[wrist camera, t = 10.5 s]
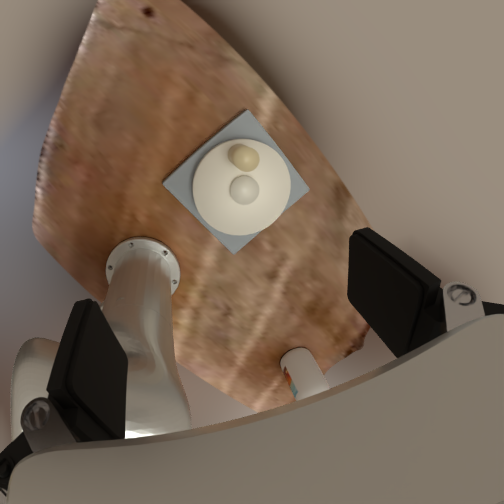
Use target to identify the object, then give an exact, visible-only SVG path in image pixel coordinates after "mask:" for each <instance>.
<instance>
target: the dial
mask: <svg viewBox="0 0 504 504" xmlns="http://www.w3.org/2000/svg"><path fill="white" fill-rule="evenodd" d="M290 189H291V180H290V174H289V171H288V168H287V166H286V163H285V162H284V160H283V159H282V157H281V156H280V155H279V154H278V153H277V152H276V151H275V150H274V149H272V148H271V147H269V146H268V145H266V144H264V143H261V142H258V141H255V140H251V139H232V140H228V141H225V142H223V143H220V144H218V145H217V146H215V147H214V148H212V149H211V150H210V151H209V152H207V153H206V154H205V156H204V157H203V158H202V159H201V161H200V162H199V164H198V166H197V168H196V170H195V173H194V177H193V183H192V190H193V197H194V201H195V205H196V207H197V210H198V212H199V213H200V215H201V217H202V218H203V219H204V220H205V221H206V222H207V223H208V224H209V225H210V226H211V227H213V228H214V229H216V230H218V231H220V232H223V233H225V234H230V235H249V234H253V233H256V232H259V231H261V230H263V229H265V228H266V227H268V226H269V225H271V224H272V223H273V222H274V221H275V220H276V219H277V218H278V217H279V216H280V215H281V213H282V212H283V210H284V208H285V206H286V205H287V202H288V199H289V195H290Z"/></svg>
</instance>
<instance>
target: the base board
mask: <svg viewBox="0 0 504 504" xmlns="http://www.w3.org/2000/svg"><path fill="white" fill-rule="evenodd" d="M232 139H251V140H255V141H258V142H261V143H264V144H266V145H268V146H269V147H271V148H272V149H274V150H275V151H276V152H277V153H278V154H279V155H280V156H281V157H282V159H283V160H284V162H285V163H286V166H287V168H288V171H289V174H290V180H291V189H290V195H289V199H288V202H287V205H286V206H285V208H284V210H283V212H284V211H285V210H287V209H288V208H289V207H290V206H291V205H292V204H294V203H295V202H296V201H297V200H298V199H299V198H301V197H302V196H303V195H304V194H305V193H307V192H308V191H309V190H310V189H309V188H308V186H307V185H306V184H305V182H304V181H303V179H302V178H301V177H300V175H299V174H298V173H297V171H296V170H295V169H294V167H293V166H292V164H291V163H290V162H289V160H288V159H287V158H286V156H285V155H284V154H283V153H282V151H281V150H280V149H279V147H278V146H277V145H276V143H275V142H274V141H273V140H272V138H271V137H270V136H269V134H268V133H267V132H266V131H265V129H264V128H263V127H262V126H261V124H260V123H259V122H258V121H257V119H256V118H255V117H254V116H253V115H252V113H251V112H250V111H249V110H248V109H247V110H245V111H243V112H242V113H241V114H240V115H238V116H237V117H236V118H235V119H233V120H232V121H231V122H230V123H228V124H227V125H226V126H225V127H223V128H222V129H221V130H220V131H219V132H217V133H216V134H215V135H214V136H213V137H212V138H210V139H209V140H208V141H207V142H206V143H205V144H203V145H202V146H201V147H200V148H199V149H198V150H197V151H195V152H194V153H193V154H192V155H191V156H190V157H189V158H188V159H187V160H185V161H184V162H183V163H182V164H181V165H180V166H179V167H178V168H177V169H176V170H175V171H174V172H172V173H171V174H170V175H169V176H168V177H167V178H166V179H165V180H164V181H163V183H162V184H163V185H164V186H165V187H166V188H167V189H168V190H169V191H170V192H171V193H172V194H173V195H174V196H175V197H176V198H177V199H178V200H179V201H180V202H181V203H182V204H183V205H184V206H185V207H186V208H187V209H188V210H189V211H190V212H191V213H192V214H193V215H194V216H195V217H196V218H197V219H198V220H199V221H200V222H201V223H202V224H203V225H204V226H205V227H206V228H207V229H208V230H209V231H210V232H211V233H212V234H213V235H214V236H215V237H216V238H217V239H218V240H219V241H220V242H221V243H222V244H223V245H224V246H225V247H226V248H227V249H228V250H229V251H230V252H231V253H232V254H233V255H234V254H235V253H236V252H238V251H239V250H240V249H241V248H242V247H243V246H245V245H246V244H247V243H248V242H249V241H250V240H252V239H253V238H254V237H255V236H256V235H257V234H259V233H260V232H261V231H262V230H261V231H259V232H256V233H253V234H249V235H230V234H225V233H223V232H220V231H218V230H216V229H214V228H213V227H211V226H210V225H209V224H208V223H207V222H206V221H205V220H204V219H203V218H202V217H201V215H200V213H199V212H198V210H197V207H196V205H195V201H194V197H193V190H192V183H193V177H194V173H195V170H196V168H197V166H198V164H199V162H200V161H201V159H202V158H203V157H204V156H205V154H206V153H207V152H209V151H210V150H211V149H212V148H214V147H215V146H217V145H218V144H220V143H223V142H225V141H228V140H232ZM283 212H282V213H283ZM282 213H281V214H282Z"/></svg>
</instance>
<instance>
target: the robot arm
mask: <svg viewBox="0 0 504 504" xmlns="http://www.w3.org/2000/svg"><path fill="white" fill-rule="evenodd" d="M131 243H133V244H131ZM164 250H166V252H164ZM110 265H111V266H110ZM106 278H107V281H108V284H109V288H108V291H107V295H106V298H105V300H104V301H103V302H102V303H101V304H100V305H98V303H97V302H96V301H94V302H93V301H92V300H91V299H85V300H81V301H77V302H76V303H75V304H74V306H73V309H72V312H71V314H70V317H69V320H68V322H67V325H66V327H65V330H64V333H63V336H62V339H61V342H60V343H58V342H55V341H52V340H49V339H45V338H32V339H29V340H27V341H26V342H25V343H24V344H23V345H22V346H21V348H20V350H19V352H18V354H17V356H16V359H15V363H14V367H13V373H12V381H11V434H12V442H11V443H10V444H9V445H8V446H7V447H6V448H5V449H4V450H3V451H2V452H1V453H0V504H504V305H502V304H495V303H489V302H483V301H481V298H480V295H479V293H478V291H477V290H476V289H475V288H474V287H472V286H471V285H469V284H466V283H463V282H451V283H448V284H447V285H445V287H444V288H443V289H442V288H440V283H441V280H440V279H439V278H438V277H436V276H435V275H434V274H432V273H431V272H430V271H429V270H427V269H426V268H425V267H423V266H422V265H421V264H419V263H418V262H417V261H415V260H414V259H413V258H411V257H410V256H408V255H407V254H406V253H404V252H403V251H402V250H400V249H399V248H397V247H396V246H395V245H393V244H392V243H390V242H389V241H388V240H386V239H385V238H383V237H382V236H380V235H379V234H378V233H376V232H375V231H373V230H372V229H370V228H368V227H367V228H363V229H359V230H355V231H354V232H353V234H352V235H351V236H350V238H349V269H348V290H347V296H348V299H349V301H350V303H351V304H352V305H353V306H354V308H355V309H356V310H357V311H358V312H359V313H360V315H361V316H362V317H363V318H364V319H365V320H366V322H367V323H368V324H369V325H370V326H371V328H372V329H373V330H374V331H375V332H376V333H377V334H378V336H379V337H380V338H381V339H382V341H383V342H384V343H385V344H386V345H387V347H388V348H389V349H390V350H391V351H392V353H393V354H394V355H395V356H396V357H397V359H395V360H393V361H391V362H390V363H388V364H385V365H383V366H381V367H379V368H377V369H375V370H373V371H371V372H369V373H366V374H364V375H362V376H360V377H357V378H355V379H353V380H350V381H348V382H346V383H343V384H341V385H338V386H336V387H333V388H331V389H328V390H326V391H323V392H320V393H318V394H315V395H312V396H310V397H307V398H304V399H301V400H298V401H295V402H292V403H289V404H286V405H283V406H280V407H277V408H274V409H271V410H267V411H264V412H261V413H257V414H254V415H250V416H247V417H243V418H239V419H235V420H231V421H226V422H223V423H218V424H214V425H209V426H205V427H200V428H195V429H191V413H190V407H189V403H188V400H187V396H186V393H185V391H184V388H183V385H182V382H181V380H180V377H179V374H178V370H177V366H176V360H175V353H174V342H173V326H172V302H171V295H172V294H173V293H174V292H175V290H176V289H177V287H178V284H179V281H180V266H179V262H178V260H177V258H176V256H175V254H174V253H173V251H172V250H171V249H170V248H169V247H168V246H166V245H165V244H163V243H162V242H160V241H158V240H155V239H152V238H148V237H134V238H130V239H127V240H125V241H123V242H121V243H119V244H118V245H117V246H116V247H115V248H114V249H113V250H112V252H111V253H110V255H109V258H108V260H107V264H106Z"/></svg>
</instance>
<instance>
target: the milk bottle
mask: <svg viewBox="0 0 504 504" xmlns="http://www.w3.org/2000/svg"><path fill="white" fill-rule="evenodd" d="M280 366H281V368H282V371H283V373H284V375H285V377H286V380H287V382H288V384H289V386H290V388H291V390H292V393H293V395H294V397H295V399H296V401H298V400H301V399H304V398H307V397H310V396H312V395H315V394H318V393H320V392H323V391H326V390H328V389H330V387H329V385H328V383H327V381H326V379H325V377H324V375H323V374H322V372H321V370H320V368H319V366H318V365H317V363H316V361H315V359H314V358H313V356H312V354H311V353H310V351H309V350H308V349H306V348H295V349H293V350H290V351H289V352H287V353H286V354H285V355H284V356H283V357H282V359H281V362H280Z"/></svg>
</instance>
